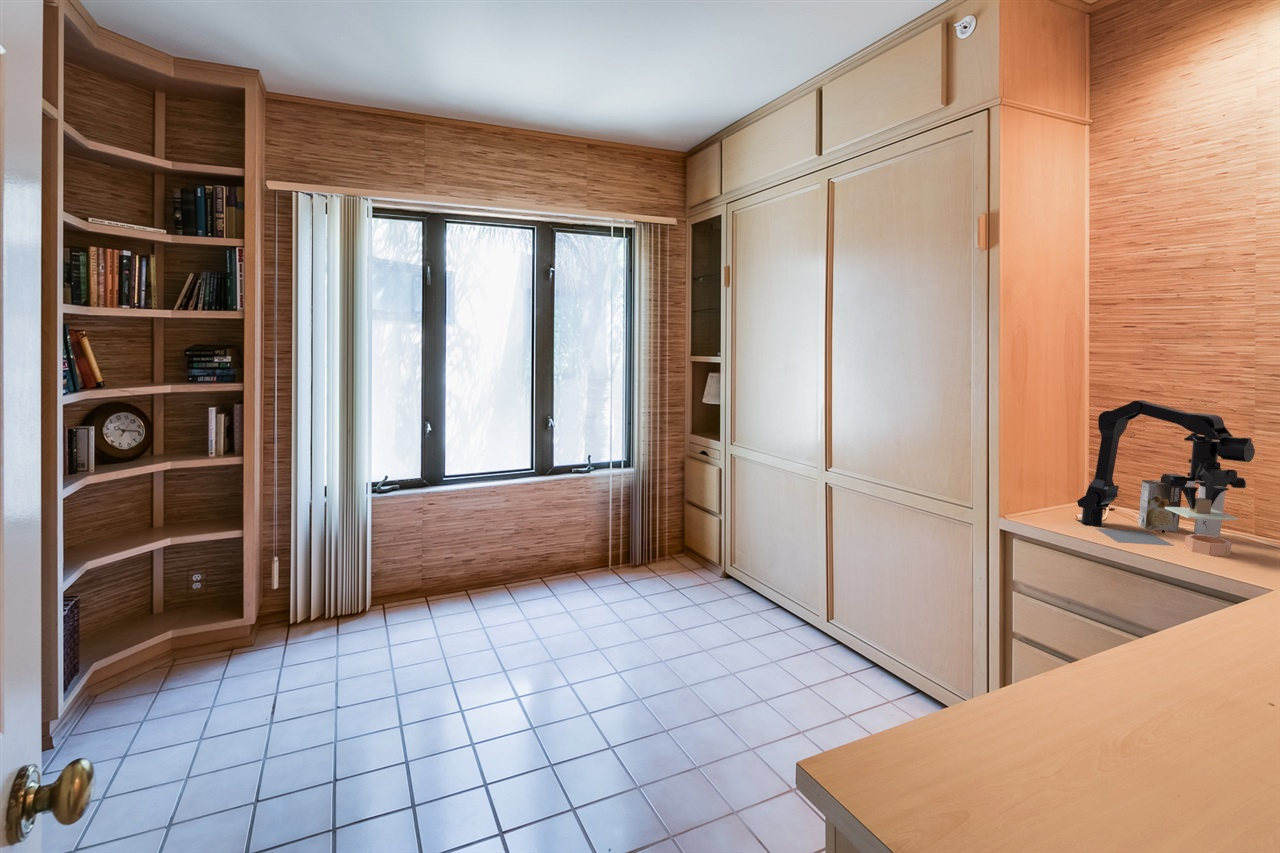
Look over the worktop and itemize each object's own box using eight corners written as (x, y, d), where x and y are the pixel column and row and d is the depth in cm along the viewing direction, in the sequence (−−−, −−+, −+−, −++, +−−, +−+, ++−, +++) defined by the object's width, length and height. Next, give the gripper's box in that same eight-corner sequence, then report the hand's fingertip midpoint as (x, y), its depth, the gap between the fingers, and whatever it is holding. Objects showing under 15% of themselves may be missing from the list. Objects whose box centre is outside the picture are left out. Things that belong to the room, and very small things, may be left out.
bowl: (1178, 546, 193) (1180, 533, 193) (1215, 548, 191) (1216, 535, 191) (1198, 556, 184) (1199, 543, 184) (1236, 558, 182) (1238, 545, 182)
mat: (1095, 529, 211) (1095, 528, 210) (1147, 532, 207) (1147, 531, 207) (1118, 543, 196) (1118, 542, 196) (1174, 547, 193) (1174, 545, 193)
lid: (1164, 508, 195) (1165, 493, 195) (1210, 510, 193) (1211, 495, 192) (1188, 518, 184) (1189, 502, 183) (1237, 520, 181) (1238, 504, 180)
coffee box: (1170, 528, 213) (1175, 481, 210) (1178, 533, 207) (1183, 485, 205) (1137, 525, 216) (1141, 479, 214) (1144, 530, 210) (1149, 483, 208)
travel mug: (1208, 534, 205) (1215, 474, 203) (1224, 540, 199) (1232, 478, 196) (1187, 534, 206) (1194, 473, 203) (1203, 540, 199) (1210, 478, 197)
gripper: (1183, 460, 181) (1179, 514, 182) (1262, 462, 176) (1256, 517, 178) (1161, 455, 191) (1157, 505, 193) (1235, 456, 187) (1230, 508, 189)
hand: (1199, 509), depth 188 cm, fingers closed on lid, 3 cm apart
